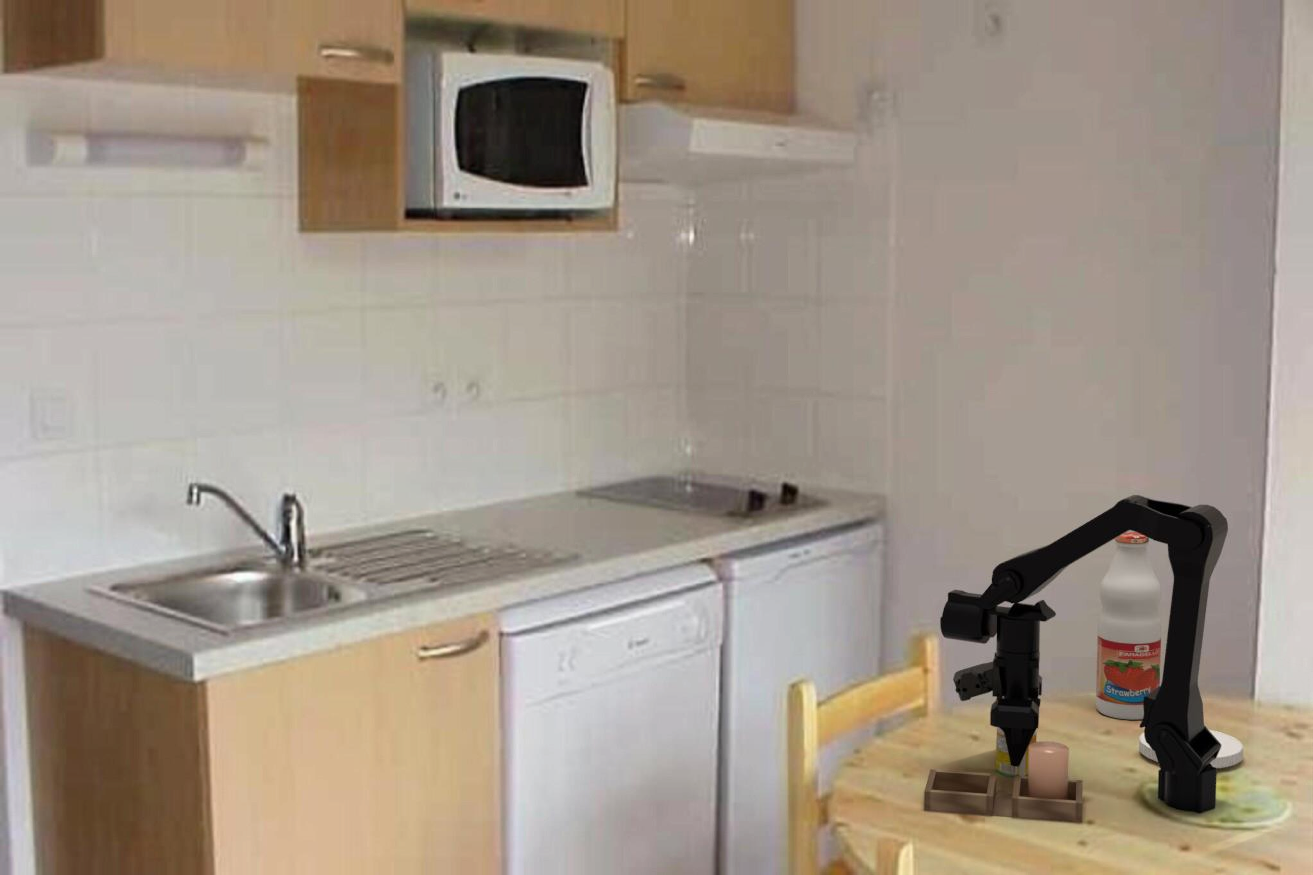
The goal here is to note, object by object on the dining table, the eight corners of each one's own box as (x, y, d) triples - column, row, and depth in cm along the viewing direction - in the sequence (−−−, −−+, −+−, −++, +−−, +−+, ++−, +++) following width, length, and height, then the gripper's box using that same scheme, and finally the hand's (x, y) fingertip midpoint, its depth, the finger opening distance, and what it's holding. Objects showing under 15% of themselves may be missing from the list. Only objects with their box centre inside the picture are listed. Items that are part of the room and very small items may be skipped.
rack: (1082, 806, 212) (1082, 780, 212) (1081, 830, 204) (1082, 803, 204) (930, 794, 217) (930, 769, 217) (924, 817, 209) (924, 791, 208)
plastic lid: (1264, 765, 228) (1265, 748, 227) (1188, 782, 222) (1189, 764, 221) (1191, 737, 240) (1191, 721, 240) (1117, 752, 234) (1118, 735, 234)
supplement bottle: (1002, 784, 220) (1003, 715, 219) (990, 771, 226) (991, 704, 224) (1041, 782, 221) (1042, 714, 220) (1028, 769, 226) (1029, 702, 225)
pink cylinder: (1075, 809, 208) (1077, 748, 207) (1049, 817, 206) (1050, 756, 205) (1045, 798, 213) (1046, 738, 211) (1019, 806, 210) (1020, 746, 209)
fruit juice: (1147, 701, 257) (1152, 527, 253) (1167, 720, 248) (1173, 539, 244) (1087, 703, 257) (1092, 528, 253) (1106, 721, 247) (1111, 540, 243)
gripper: (962, 628, 232) (961, 734, 234) (952, 663, 214) (950, 777, 216) (1043, 632, 229) (1041, 739, 231) (1039, 667, 211) (1037, 783, 213)
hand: (1016, 759), depth 223 cm, fingers closed on supplement bottle, 5 cm apart
